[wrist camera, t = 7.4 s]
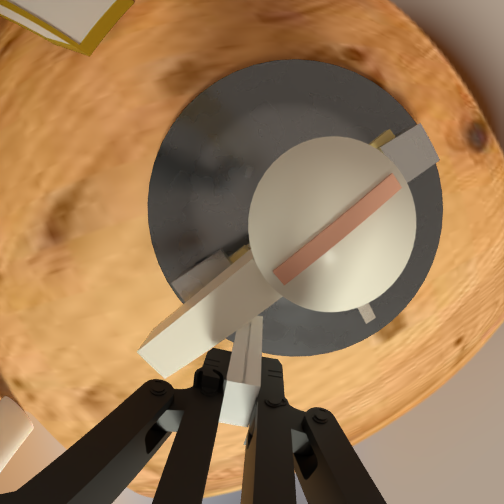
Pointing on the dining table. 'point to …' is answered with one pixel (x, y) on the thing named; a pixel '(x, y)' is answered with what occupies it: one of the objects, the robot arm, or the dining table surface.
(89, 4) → the soap bottle
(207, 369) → the robot arm
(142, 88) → the dining table surface
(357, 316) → the post base
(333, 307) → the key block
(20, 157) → the dining table surface
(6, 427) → the container
